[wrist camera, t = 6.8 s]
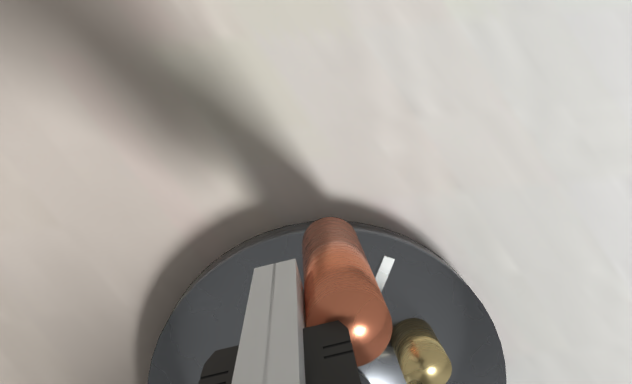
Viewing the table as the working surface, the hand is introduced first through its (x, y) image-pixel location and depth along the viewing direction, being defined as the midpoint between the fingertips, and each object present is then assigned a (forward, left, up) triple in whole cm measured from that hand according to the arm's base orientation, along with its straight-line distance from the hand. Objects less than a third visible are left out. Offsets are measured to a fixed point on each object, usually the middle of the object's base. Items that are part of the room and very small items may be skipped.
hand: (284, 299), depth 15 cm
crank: (-1, -4, -4) cm, 6 cm away
